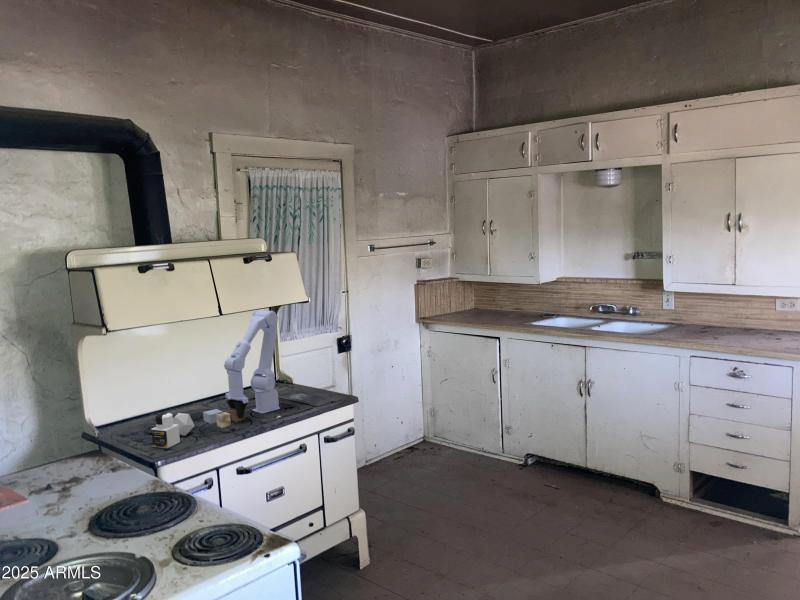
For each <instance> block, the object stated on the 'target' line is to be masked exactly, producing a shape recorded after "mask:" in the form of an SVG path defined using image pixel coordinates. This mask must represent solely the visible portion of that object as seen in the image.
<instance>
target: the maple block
mask: <svg viewBox="0 0 800 600" xmlns="http://www.w3.org/2000/svg"><path fill="white" fill-rule="evenodd" d="M216 420H217V422H216V427H218V428H221V429H223V428H227V427H231V426H232V425H231V424H232V423H231V413H229V412H225V411H223V413H220V414H216Z"/></svg>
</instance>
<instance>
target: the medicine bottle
mask: <svg viewBox="0 0 800 600" xmlns="http://www.w3.org/2000/svg"><path fill="white" fill-rule="evenodd" d="M173 416H174V415H173V414H172V413H171V412H161V413H158V414H156V415H155V427H153V428H151V443H152V447H153V448H162V449H169V448H172V447H174V446H175V445H177V444H179V443H181V438H180V436H181V435H179V425H178V424H173V418H174V417H173Z"/></svg>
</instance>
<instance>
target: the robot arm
mask: <svg viewBox="0 0 800 600" xmlns="http://www.w3.org/2000/svg"><path fill="white" fill-rule="evenodd" d="M278 321H279V316H278V315H277V313H276V311H273V310H261V309H256V310H254V311H253V313H252V315H251V316H250V324H249V326H248V327H247V330H246V332H245V334H244V337H243V338H242V340H240V341H238V342H236V344H235V347H234V349H233V351H232V353H231V354H230V356H228V357H227V358H226V359H225V361H224V364H223V367H224V369H225V370H226V374H227V381H228V392H225V398H226V401H225V402H226V404H227V405H228V407H229V409H230V410H231V409H232V408H236V409H237V414H238V418H243V417H244V412H245V411H246V408H247V405H248V404H249V397H247V396H246V395H245V394H244V384H243V369H244V368H245V363H246V358H247V356H248V354H249V352H250V350H251V349H252V348H251V344H252V341H253V340H254V338H255V337H256V335H257V334H258V332H259V331H260V330H262V332H263V337H262V343H261V349H260V354H259V355H260V356H259V362H258V367H257V369H255V370H254V371H253V373H252V377H251V379H250V386H251V388H252V389H253V391H254V395H255V398H254V399H255V407H256V408H252V411H253V412H254V413H255V412H256V413H259V414H266V413H269V412H274V411H277V410H280V408H281V407H280V405H279V404H280V403H279V394H278V391H277V389H276V388H275V386H276V379H275V378H276V377H275V375H276V374H275V372H273V370H272V365H273V358H274V351H275V346H276V340H277V333H278ZM245 413H246V412H245Z"/></svg>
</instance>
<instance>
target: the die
mask: <svg viewBox="0 0 800 600" xmlns="http://www.w3.org/2000/svg"><path fill="white" fill-rule="evenodd" d="M173 424H178V425H179V436H182V437H183V436H184V437H185V436H187V435H188V434H189V433H190V432H191V430H192V429H193V428H194V427H195V423H194V422H193V419H192V418H191V415H190V413H182V412H178V413H177V414H176V415H175V416H174V417H173Z"/></svg>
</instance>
